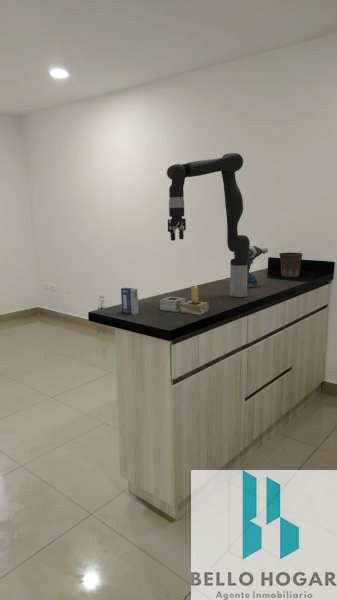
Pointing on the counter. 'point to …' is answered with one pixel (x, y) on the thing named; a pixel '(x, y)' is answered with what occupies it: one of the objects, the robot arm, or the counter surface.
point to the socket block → (171, 303)
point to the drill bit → (194, 295)
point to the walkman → (129, 300)
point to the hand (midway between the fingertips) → (177, 239)
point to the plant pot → (290, 264)
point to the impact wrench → (253, 253)
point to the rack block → (195, 307)
